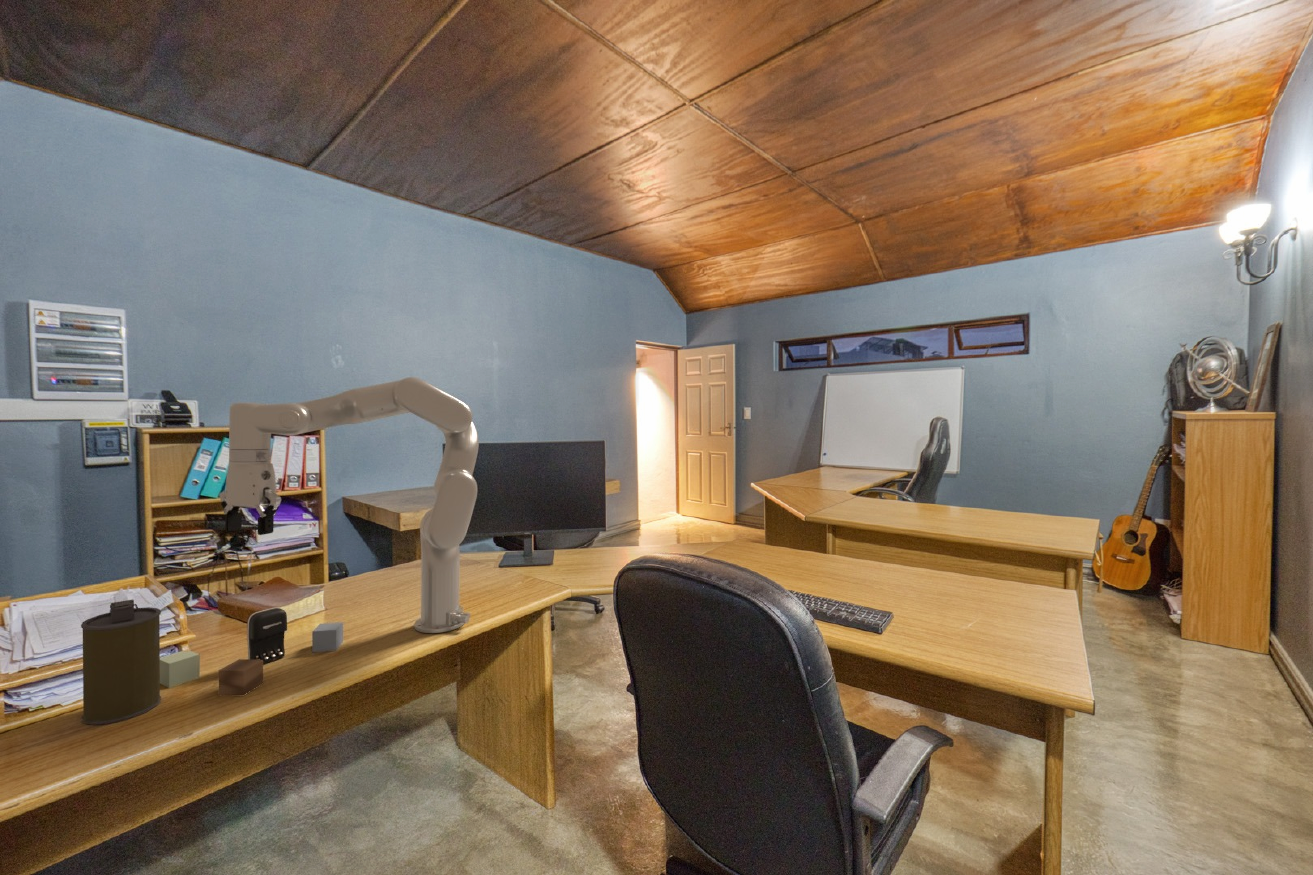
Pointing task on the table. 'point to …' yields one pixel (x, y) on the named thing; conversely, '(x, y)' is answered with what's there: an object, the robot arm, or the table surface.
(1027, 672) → the table surface
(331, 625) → the slate cube
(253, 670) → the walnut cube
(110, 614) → the canister
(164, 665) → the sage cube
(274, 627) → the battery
